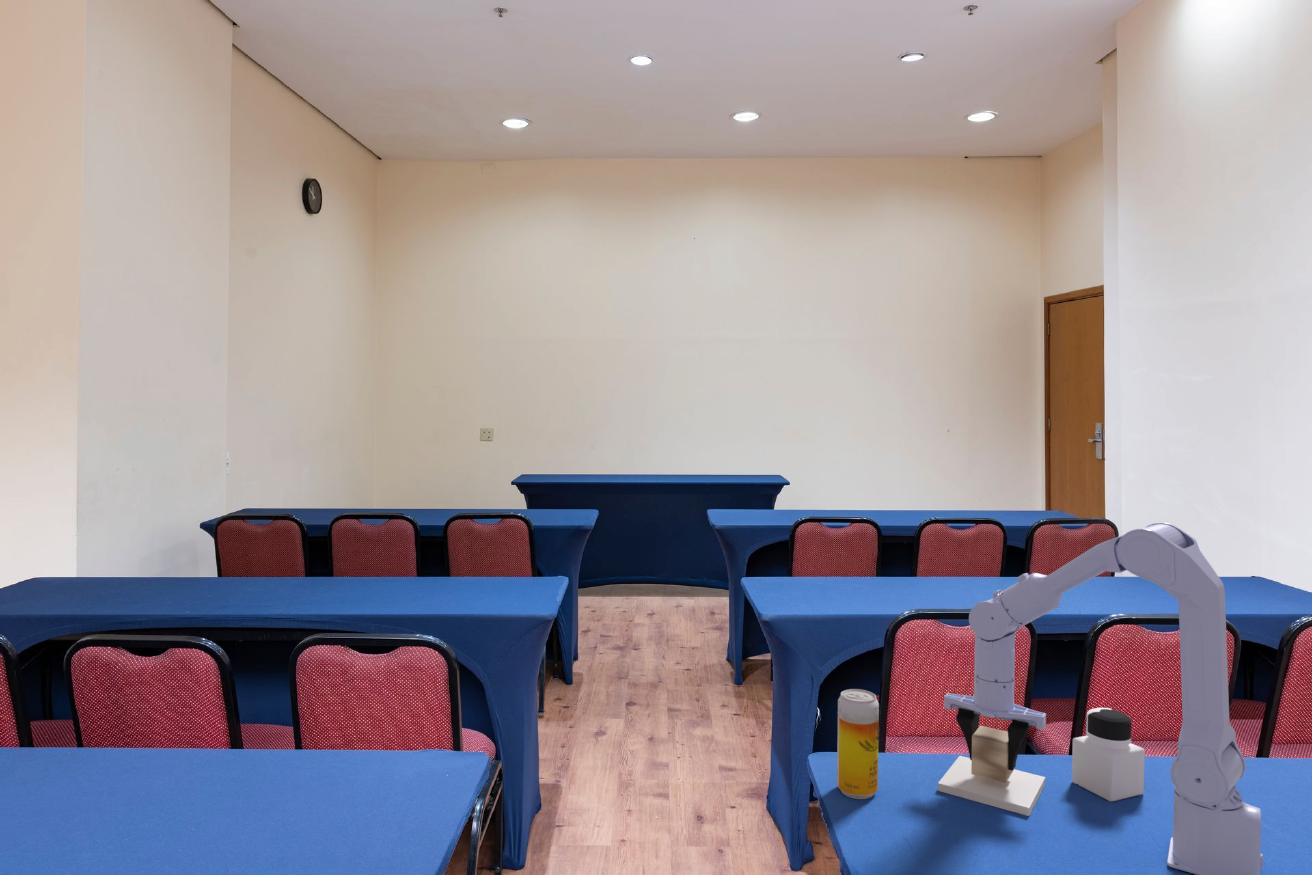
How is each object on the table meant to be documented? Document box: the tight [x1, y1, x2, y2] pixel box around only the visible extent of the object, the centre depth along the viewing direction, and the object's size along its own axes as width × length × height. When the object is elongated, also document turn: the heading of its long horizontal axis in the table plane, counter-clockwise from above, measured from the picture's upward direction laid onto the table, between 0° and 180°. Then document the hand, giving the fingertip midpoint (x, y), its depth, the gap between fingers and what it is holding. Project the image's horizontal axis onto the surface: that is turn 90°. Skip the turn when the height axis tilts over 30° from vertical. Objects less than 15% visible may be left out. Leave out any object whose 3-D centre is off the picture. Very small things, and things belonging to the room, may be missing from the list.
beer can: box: [836, 688, 880, 800], centre depth 123 cm, size 6×6×15 cm
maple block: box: [971, 725, 1013, 783], centre depth 124 cm, size 5×5×6 cm
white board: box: [937, 755, 1046, 817], centre depth 124 cm, size 13×12×1 cm
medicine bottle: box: [1071, 707, 1146, 802], centre depth 124 cm, size 7×7×12 cm
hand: (992, 762), depth 124 cm, fingers closed on maple block, 5 cm apart
